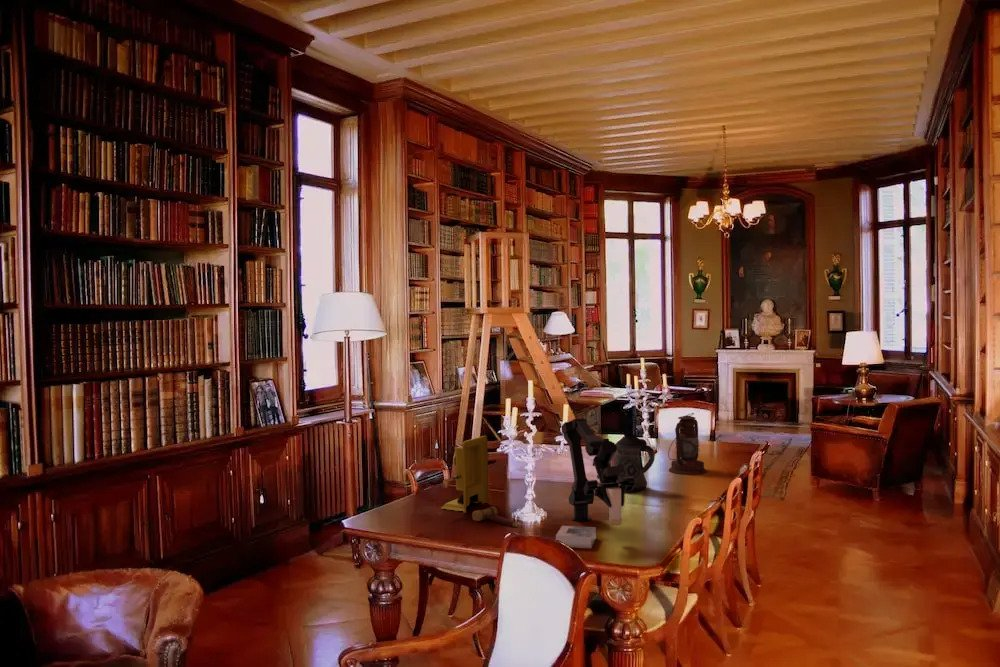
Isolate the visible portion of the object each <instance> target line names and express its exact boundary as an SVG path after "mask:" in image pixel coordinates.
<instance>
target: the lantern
mask: <svg viewBox="0 0 1000 667" xmlns="http://www.w3.org/2000/svg"><path fill="white" fill-rule="evenodd" d="M693 415H695V413H694V412H692V413H689V414H687V415H682V416H679V417H677V419H679V421H678V422H677V423H676V426H675V429H674V432H675V438H674V440H673V441H672V442H671V443H670V446H669V448H668V452H667V456H668V457H667V458H669V460H671V463H670V464H671V466H670V468H669V469H668V472H669V473H670V474H675V475H681V476H697V475H698V476H699V475H704V474H706V473H708V470H707V469H706V468H705V462H704V461H701V460H699V451H701V449H700V448H699V447H700V445H701V444H700V443H701V442H700V439H699V424H698V423H699V422H698V420H697V418H696V417H695V416H693ZM674 443H675V448H674V449H675V450H674V452H675V454H676V458H674V459H671V458H670V450H671V447H672V446H673V444H674Z"/></svg>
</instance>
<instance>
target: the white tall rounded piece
mask: <svg viewBox="0 0 1000 667" xmlns="http://www.w3.org/2000/svg"><path fill="white" fill-rule="evenodd" d="M608 497H609V500H610V503H611V507H609V506H608V524H609V525H611V526H621V525H622V524H623V517H622V516H623V514H622V511H623V510H622V506H621V488H616V487H614V488H608Z"/></svg>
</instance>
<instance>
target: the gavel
mask: <svg viewBox="0 0 1000 667" xmlns="http://www.w3.org/2000/svg"><path fill="white" fill-rule="evenodd" d="M471 519H472V520H473V521H474V520H477V521H480V522H482V521H485V520H488V519H489V520H491V521H492V522H495V523H498V524H500V523H501V525H503V524H504V525H503V526H506V525H507V527H510V526H511V528H517V527H518V526H519V525H518V524H517V523H516V522H515V521H513V520H512V519H508V518H505V517H503V516H500V515H498V509H497V507H496V506H490V507H487V508H484V509H478V510H477V509H476V510H473V512H472V514H471ZM484 519H485V520H484ZM481 520H482V521H481Z"/></svg>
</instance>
